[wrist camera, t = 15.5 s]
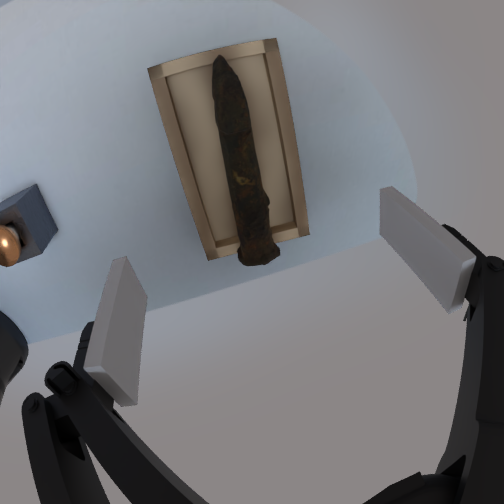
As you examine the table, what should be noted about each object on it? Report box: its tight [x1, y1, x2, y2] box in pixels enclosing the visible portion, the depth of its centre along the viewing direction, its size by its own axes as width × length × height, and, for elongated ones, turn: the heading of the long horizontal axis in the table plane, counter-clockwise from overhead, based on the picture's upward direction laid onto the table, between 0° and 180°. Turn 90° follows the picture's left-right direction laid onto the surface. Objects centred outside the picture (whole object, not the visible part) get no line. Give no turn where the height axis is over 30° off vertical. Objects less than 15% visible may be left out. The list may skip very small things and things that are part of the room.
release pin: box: [0, 221, 22, 267], centre depth 26 cm, size 4×4×7 cm
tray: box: [147, 38, 310, 261], centre depth 28 cm, size 11×20×3 cm, turn 12°
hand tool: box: [212, 55, 280, 266], centre depth 26 cm, size 19×4×5 cm, turn 8°
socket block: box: [0, 184, 58, 264], centre depth 27 cm, size 6×6×5 cm
